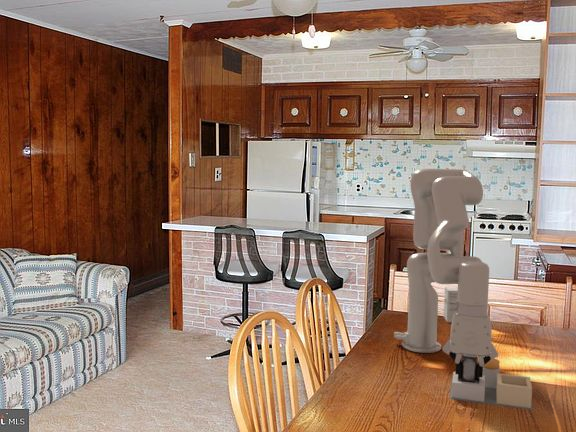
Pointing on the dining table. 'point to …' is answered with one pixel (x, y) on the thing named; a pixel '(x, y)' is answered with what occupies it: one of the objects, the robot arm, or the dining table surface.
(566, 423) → the dining table surface
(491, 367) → the button
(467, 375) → the grey rounded cylinder
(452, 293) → the supplement box
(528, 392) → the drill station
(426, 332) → the robot arm
